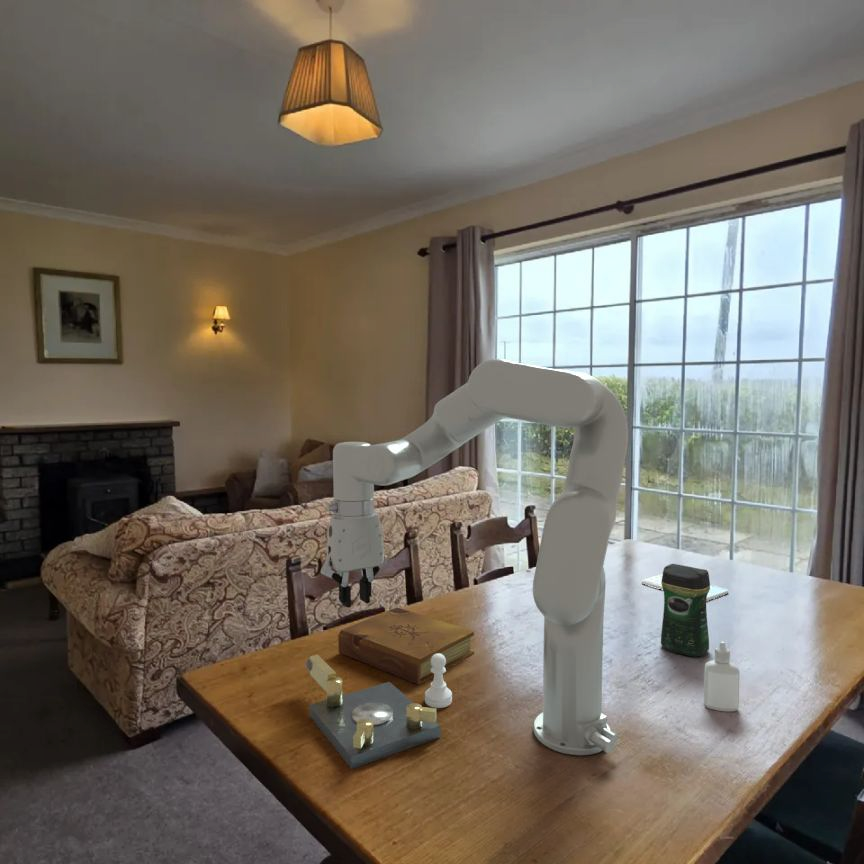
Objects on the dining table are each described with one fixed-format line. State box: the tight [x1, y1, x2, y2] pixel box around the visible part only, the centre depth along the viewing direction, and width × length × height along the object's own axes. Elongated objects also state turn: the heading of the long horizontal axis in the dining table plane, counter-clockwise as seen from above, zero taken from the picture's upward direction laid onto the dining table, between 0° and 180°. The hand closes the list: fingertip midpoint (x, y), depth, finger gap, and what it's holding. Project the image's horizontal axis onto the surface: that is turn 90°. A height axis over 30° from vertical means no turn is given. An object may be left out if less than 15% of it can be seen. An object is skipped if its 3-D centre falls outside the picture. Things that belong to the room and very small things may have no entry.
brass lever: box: [305, 654, 344, 707], centre depth 112 cm, size 13×3×5 cm, turn 32°
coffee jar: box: [660, 563, 711, 658], centre depth 134 cm, size 10×8×19 cm
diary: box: [337, 606, 475, 686], centre depth 133 cm, size 23×19×6 cm
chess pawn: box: [424, 653, 453, 709], centre depth 112 cm, size 5×5×9 cm
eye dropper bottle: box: [703, 641, 740, 713], centre depth 110 cm, size 4×6×12 cm
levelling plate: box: [308, 681, 441, 770], centre depth 104 cm, size 18×16×5 cm
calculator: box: [641, 573, 729, 602], centre depth 175 cm, size 13×20×2 cm, turn 35°
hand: (355, 602), depth 116 cm, fingers open, 3 cm apart
